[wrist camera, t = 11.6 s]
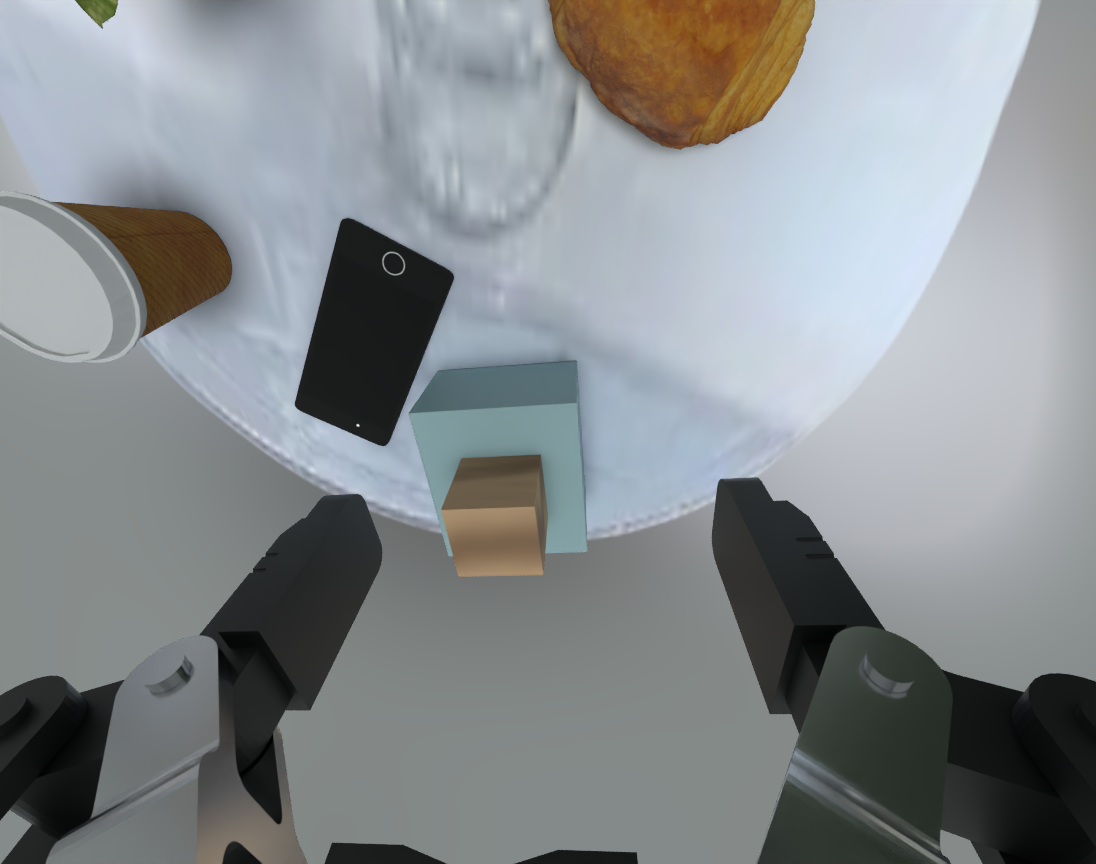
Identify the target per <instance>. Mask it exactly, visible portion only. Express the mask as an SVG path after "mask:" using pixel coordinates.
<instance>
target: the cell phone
mask: <svg viewBox="0 0 1096 864" xmlns="http://www.w3.org/2000/svg"><path fill="white" fill-rule="evenodd" d="M453 280H454V276H453V274H452V273H451V272H450V271H449V270H447V269H446V268H444V267H442V266H440V265H439V264H437V263H435V262H433V261H431V260H429V259H427V258H425V257H424V256H422V255H420V254H418V253H416V252H414V251H412V250H410V249H408V248H407V247H405V246H403V245H401V244H399V243H397V242H395V241H393V240H391V239H390V238H388V237H386V236H384V235H382V234H380V233H378V232H376V231H374V230H373V229H371V228H369V227H367V226H365V225H363V224H361V223H359V222H357V221H355V220H353V219H349V218H346V219H343V220H342V221H341V223H340V227H339V231H338V234H337V238H336V242H335V246H334V250H333V254H332V258H331V262H330V266H329V270H328V274H327V278H326V282H325V286H324V290H323V294H322V298H321V302H320V306H319V310H318V314H317V318H316V321H315V325H314V329H313V333H312V337H311V341H310V345H309V349H308V353H307V357H306V361H305V365H304V369H303V373H302V377H301V381H300V385H299V389H298V393H297V397H296V401H295V406H296V408H297V409H298V410H300V411H302V412H304V413H306V414H308V415H311V416H313V417H315V418H318V419H320V420H322V421H324V422H327V423H329V424H331V425H334V426H336V427H338V428H341V429H343V430H345V431H347V432H350V433H352V434H354V435H357V436H359V437H361V438H363V439H366V440H368V441H370V442H373V443H375V444H377V445H380V446H386V445H387V444H388V442H389V441H390V438H391V436H392V433H393V431H394V428H395V426H396V423H397V421H398V418H399V416H400V413H401V411H402V408H403V406H404V403H405V401H406V398H407V396H408V393H409V391H410V388H411V386H412V383H413V381H414V378H415V375H416V373H417V370H418V368H419V365H420V363H421V360H422V358H423V355H424V353H425V350H426V348H427V345H428V343H429V340H430V338H431V335H432V333H433V330H434V328H435V325H436V323H437V320H438V318H439V315H440V313H441V310H442V308H443V305H444V303H445V300H446V298H447V295H448V293H449V290H450V287H451V285H452V282H453Z"/></svg>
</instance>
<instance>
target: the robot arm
mask: <svg viewBox="0 0 1096 864" xmlns="http://www.w3.org/2000/svg"><path fill="white" fill-rule="evenodd" d="M712 546H713V553H714V558H715V561H716V564H717V567H718V570H719V573H720V576H721V578H722V581H723V584H724V587H725V590H726V592H727V595H728V598H729V601H730V604H731V606H732V609H733V612H734V615H735V618H736V620H737V623H738V626H739V629H740V632H741V634H742V637H743V640H744V643H745V646H746V648H747V651H748V654H749V657H750V660H751V662H752V665H753V668H754V671H755V674H756V676H757V679H758V682H759V685H760V688H761V690H762V693H763V696H764V699H765V702H766V704H767V707H768V710H769V713H770V714H792V717H793V719H794V722H795V725H796V727H797V729H798V732H799V737H798V740H797V743H796V746H795V749H794V752H793V755H792V758H791V761H790V764H789V767H788V770H787V772H786V776H785V778H784V781H783V784H782V787H781V790H780V793H779V796H778V799H777V802H776V805H775V808H774V811H773V814H772V817H771V820H770V822H769V825H768V828H767V831H766V834H765V837H764V840H763V843H762V846H761V849H760V852H759V855H758V858H757V861H756V864H951V863H950V861H949V860H948V858H946V857H945V856H943V855H942V853H941V849H940V831H941V830H944V831H947V832H950V833H952V834H955V835H958V836H960V837H963V838H966V839H969V840H970V841H971V843H972V844H973V847H974V848H975V850H976V852H977V854H978V856H979V857H980V859H981V861H982V863H983V864H1096V682H1095V681H1092V680H1089V679H1086V678H1082V677H1078V676H1074V675H1068V674H1060V673H1059V674H1058V673H1056V674H1046V675H1041V676H1040V677H1038V678H1036V679H1034V681H1033V682H1032V683H1031V684H1030V685H1029V687H1028V688H1027V689H1026V691H1025V692H1021V691H1017V690H1014V689H1009V688H1006V687H1002V686H998V685H994V684H990V683H986V682H983V681H979V680H975V679H971V678H967V677H963V676H960V675H956V674H953V673H950V672H947V671H944V670H942V669H941V668H940V667H939V666H938V665H937V663H936V662H935V661H934V660H933V659H932V658H931V657H930V656H929V655H927V654H926V653H925V652H924V651H923V650H921V649H920V648H918V646H916V645H915V644H913V643H911V642H910V641H908V640H907V639H905V638H902V637H901V636H899V635H897V634H894V633H892V632H889V631H886V630H885V629H884V627H883V626H882V625H881V623H880V622H879V620H878V619H877V617H876V616H875V614H874V613H873V611H872V610H871V608H870V607H869V605H868V604H867V602H866V601H865V599H864V598H863V596H862V595H861V593H860V592H859V590H858V589H857V588H856V586H855V585H854V583H853V581H852V580H851V578H850V577H849V576H848V574H847V573H846V571H845V570H844V568H843V567H842V565H841V564H840V562H839V561H838V559H837V558H834V553H833V552H832V550H831V549H830V547H829V546H828V544H827V543H826V541H823V539H822V535H821V534H820V533H819V531H818V530H817V528H816V526H815V525H814V523H813V522H812V521H811V519H810V518H809V516H807V515H806V514H804V513H803V512H802V511H800V510H799V509H798V508H797V507H795V506H794V505H793V504H791V503H790V502H788V501H773V500H772V498H771V497H770V495H769V493H768V492H767V490H766V488H765V486H764V485H763V484H762V482H761V480H760V479H759V478H756V477H755V478H733V479H720V480H719V482H718V486H717V494H716V503H715V512H714V520H713V529H712ZM381 561H382V546H381V542H380V539H379V537H378V534H377V532H376V529H375V526H374V524H373V521H372V518H371V515H370V513H369V510H368V507H367V505H366V502H365V500H364V498H363V497H362V496H361V495H359V494H349V495H328V496H324V497H322V498H321V499H320V500H319V502H318V503H317V504H316V506H315V507H314V508H313V509H312V511H311V512H310V513H309V515H308V516H307V517H306V518H304V519H301V520H300V521H298V522H297V523H295V524H294V525H293V526H292V527H290V528H289V529H288V530H286V531H285V532H284V533H282V534H281V535H280V536H279V537H278V539H277V540H276V541H275V542H274V544H273V545H272V546H271V547H270V548H269V550H268V551H267V552H266V556H265V557H262V558H261V560H260V561H259V562H258V563H257V565H256V566H255V567H254V568H253V573H249V574H248V576H247V577H246V578H245V579H244V581H243V582H242V583H241V584H240V586H239V587H238V588H237V589H236V591H235V592H234V593H233V595H232V596H231V597H230V598H229V599H228V600H227V602H226V603H225V604H224V605H223V607H222V608H221V609H220V610H219V612H218V613H217V614H216V615H215V617H214V618H213V619H212V620H211V621H210V623H209V624H208V625H207V626H206V628H205V629H204V630H203V631H202V633H201V634H200V635H199V636H191V637H187V638H183V639H180V640H178V641H175V642H173V643H170V644H169V645H167V646H165V647H163V648H161V649H159V650H158V651H156V652H155V653H153V654H152V655H150V656H149V657H148V658H146V659H145V660H144V661H143V662H142V663H141V664H139V665H138V666H137V667H136V668H135V669H134V670H133V671H132V672H131V673H130V674H129V675H128V677H127V678H126V679H125V680H122V681H119V682H116V683H112V684H109V685H105V686H102V687H98V688H95V689H91V690H88V691H85V692H81V693H79V692H78V691H77V690H76V689H75V688H74V687H72V686H71V685H70V684H69V683H68V682H67V681H66V680H65V679H64V678H62V677H59V676H46V677H41V678H37V679H34V680H31V681H28V682H26V683H23V684H21V685H19V686H17V687H15V688H13V689H11V690H9V691H7V692H5V693H4V694H2V695H0V820H1V819H2V818H3V816H4V815H5V814H6V813H7V812H8V811H9V810H11V811H12V812H14V813H16V814H17V815H19V816H20V817H22V818H23V819H25V820H27V821H28V822H30V823H31V824H32V825H31V827H30V828H29V829H28V830H27V832H26V833H25V834H24V835H23V837H22V838H21V839H20V841H19V842H18V843H17V844H16V846H15V847H14V848H13V850H12V851H11V852H10V853H9V855H8V856H7V857H6V859H5V860H4V861H3V862H2V863H1V864H307V861H306V858H305V856H304V853H303V851H302V849H301V847H300V845H299V842H298V839H297V836H296V832H295V827H294V821H293V814H292V806H291V799H290V792H289V784H288V777H287V769H286V762H285V755H284V747H283V740H282V734H281V731H280V729H279V727H278V726H277V725H278V722H279V721H280V719H281V717H282V715H283V713H284V712H285V710H310V709H311V707H312V705H313V703H314V701H315V699H316V697H317V695H318V693H319V691H320V689H321V687H322V685H323V683H324V681H325V679H326V677H327V675H328V673H329V671H330V669H331V667H332V665H333V662H334V661H335V659H336V657H337V654H338V653H339V650H340V648H341V646H342V644H343V642H344V640H345V638H346V636H347V634H348V632H349V630H350V628H351V626H352V624H353V622H354V620H355V618H356V616H357V614H358V612H359V609H360V607H361V606H362V603H363V602H364V600H365V598H366V595H367V594H368V591H369V589H370V587H371V585H372V583H373V581H374V579H375V577H376V575H377V573H378V571H379V568H380V566H381ZM325 864H446V863H444V862H441V861H439V860H437V859H434V858H432V857H430V856H428V855H425V854H423V853H420V852H418V851H416V850H414V849H411V848H409V847H406V846H404V845H387V844H386V845H385V844H355V843H332V845H331V847H330V850H329V853H328V856H327V858H326V861H325ZM516 864H638V861H637V853H636V852H604V851H603V852H602V851H574V850H557V851H554V852H550V853H547V854H544V855H541V856H538V857H534V858H531V859H528V860H525V861H522V862H519V863H516Z"/></svg>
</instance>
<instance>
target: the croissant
mask: <svg viewBox="0 0 1096 864" xmlns="http://www.w3.org/2000/svg"><path fill="white" fill-rule="evenodd" d="M548 2H549V4H550V12H551V14H552V23H553V29H554V34H555V37H556V39H557V42H558V44H559V46H560V48H561V49H562V50H563V52H564V53H565V54H566V56H567V57H568V59H569V61H570V62H571V64H572V65H573V66H574V67H575V69H577V70H579V71H580V72H581V73H582V74H583V75H584V76H585V77H586V78H587V79H588V80H589V81H590V83H591V88H592V89H593V91H594V93H595V94H596V95H597V97H598V98H599V100H600V101H601V102H602V103H603V104H604V105H605V106H606V107H607V108H608V109H609V110H610V111H611V112H612V113H614V114H615V115H617V116H618V117H619V118H621V119H623V120H624V121H626V122H627V123H629V124H631V125H634V126H635V127H636V128H637V129H638V130H639V131H641V132H642V133H643V134H645V135H646V136H647V137H649V138H650V139H652V140H653V141H655V142H657V143H659V144H661V145H662V146H667V147H671V148H676V149H680V150H681V149H682V148H684V147H692V146H694V145H696V144H698V143H702V144H705V145H708V144H710V143H715V144H718V143H719V142H721V141H722V140H724V139H725V138H727V137H728V136H729V135H730V134H735V133H736V132H738V131H741V130H743V129H744V128H748V127H750V126H752V125H754V124H756V123H757V122H759V121H762V120H763V118H764V117H765V116H766V114H767V113H768V111H769V110H770V108H771V107H772V105H773V104H774V103H775V102H776V101H777V99H778V98H779V97H780V96H781V94H782V93H783V91H784V90H785V88H786V87H787V85H788V83H789V81H790V79H791V77H792V75H793V74H794V72H795V70H796V68H797V65H798V61H799V59H800V57H801V55H802V52H803V49H804V48H803V47H804V45H805V42H806V33H807V32H808V30H809V28H810V27H811V25H812V24H811V22H812V19H813V17H814V10H815V0H548Z"/></svg>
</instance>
